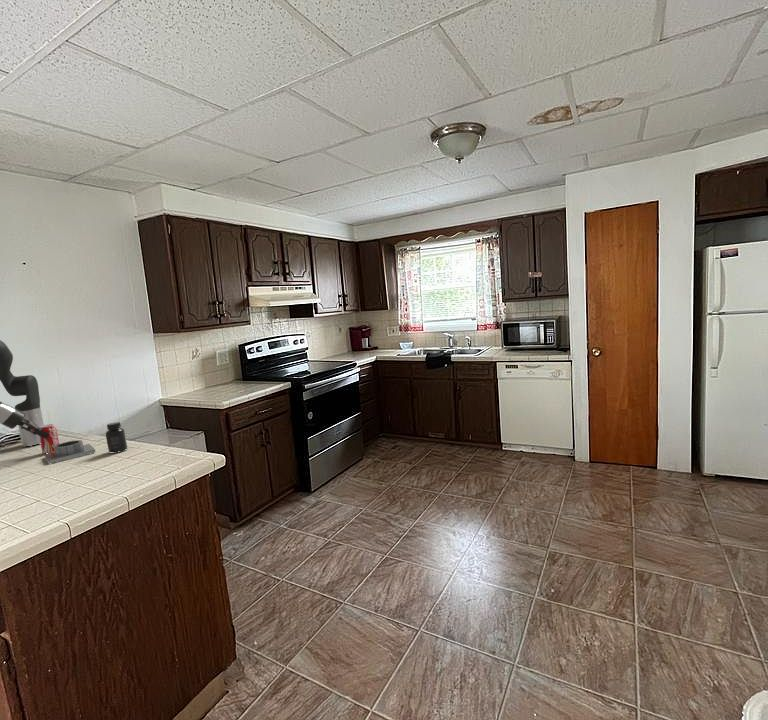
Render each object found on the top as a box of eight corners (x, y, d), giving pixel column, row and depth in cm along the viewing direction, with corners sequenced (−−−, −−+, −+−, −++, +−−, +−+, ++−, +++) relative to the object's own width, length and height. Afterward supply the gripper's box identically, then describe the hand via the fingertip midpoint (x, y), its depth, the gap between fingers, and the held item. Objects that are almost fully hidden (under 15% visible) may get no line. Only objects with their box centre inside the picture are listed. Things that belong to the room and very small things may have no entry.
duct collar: (44, 457, 182) (42, 446, 182) (89, 447, 193) (87, 436, 193) (48, 464, 172) (46, 452, 172) (95, 452, 183) (93, 441, 182)
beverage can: (50, 454, 187) (45, 427, 185) (38, 454, 188) (33, 428, 187) (63, 449, 193) (59, 423, 191) (52, 450, 194) (47, 424, 193)
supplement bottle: (131, 448, 185) (126, 420, 184) (120, 453, 179) (115, 425, 177) (116, 448, 186) (111, 421, 185) (104, 454, 179) (100, 426, 178)
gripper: (15, 409, 176) (55, 430, 185) (13, 406, 187) (51, 425, 196) (0, 425, 173) (41, 445, 182) (-1, 421, 184) (39, 440, 193)
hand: (46, 435), depth 189 cm, fingers open, 8 cm apart
